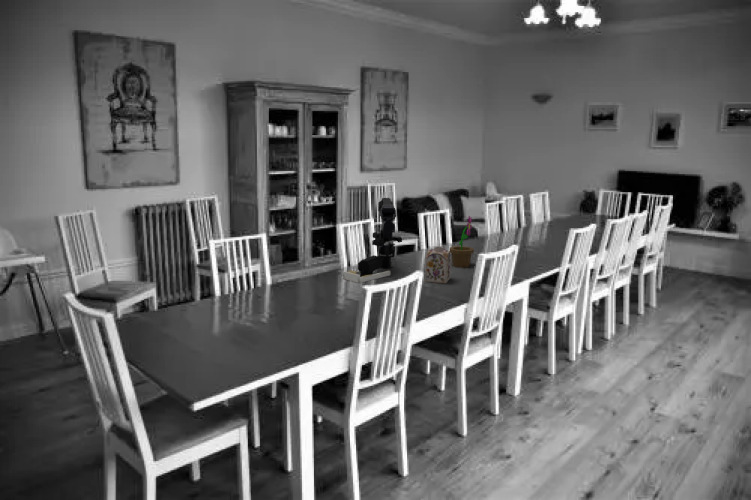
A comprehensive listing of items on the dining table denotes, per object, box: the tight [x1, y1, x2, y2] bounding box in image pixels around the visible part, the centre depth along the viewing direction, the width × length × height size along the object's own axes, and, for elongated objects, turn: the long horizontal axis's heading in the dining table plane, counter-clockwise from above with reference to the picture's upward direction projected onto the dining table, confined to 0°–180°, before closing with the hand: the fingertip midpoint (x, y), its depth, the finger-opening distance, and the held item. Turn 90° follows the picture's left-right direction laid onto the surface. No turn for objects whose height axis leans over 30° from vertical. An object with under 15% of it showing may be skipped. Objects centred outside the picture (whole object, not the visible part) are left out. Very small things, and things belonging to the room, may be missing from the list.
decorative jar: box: [424, 245, 452, 284], centre depth 307 cm, size 12×12×18 cm
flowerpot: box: [449, 215, 475, 269], centre depth 340 cm, size 14×14×30 cm
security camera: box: [357, 255, 382, 277], centre depth 313 cm, size 7×18×10 cm, turn 152°
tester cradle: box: [342, 269, 391, 284], centre depth 312 cm, size 24×12×5 cm, turn 136°
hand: (387, 256), depth 322 cm, fingers closed
